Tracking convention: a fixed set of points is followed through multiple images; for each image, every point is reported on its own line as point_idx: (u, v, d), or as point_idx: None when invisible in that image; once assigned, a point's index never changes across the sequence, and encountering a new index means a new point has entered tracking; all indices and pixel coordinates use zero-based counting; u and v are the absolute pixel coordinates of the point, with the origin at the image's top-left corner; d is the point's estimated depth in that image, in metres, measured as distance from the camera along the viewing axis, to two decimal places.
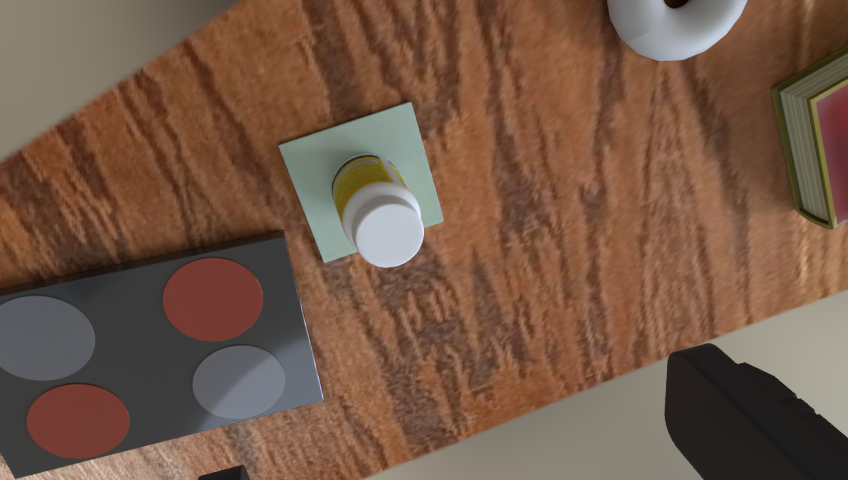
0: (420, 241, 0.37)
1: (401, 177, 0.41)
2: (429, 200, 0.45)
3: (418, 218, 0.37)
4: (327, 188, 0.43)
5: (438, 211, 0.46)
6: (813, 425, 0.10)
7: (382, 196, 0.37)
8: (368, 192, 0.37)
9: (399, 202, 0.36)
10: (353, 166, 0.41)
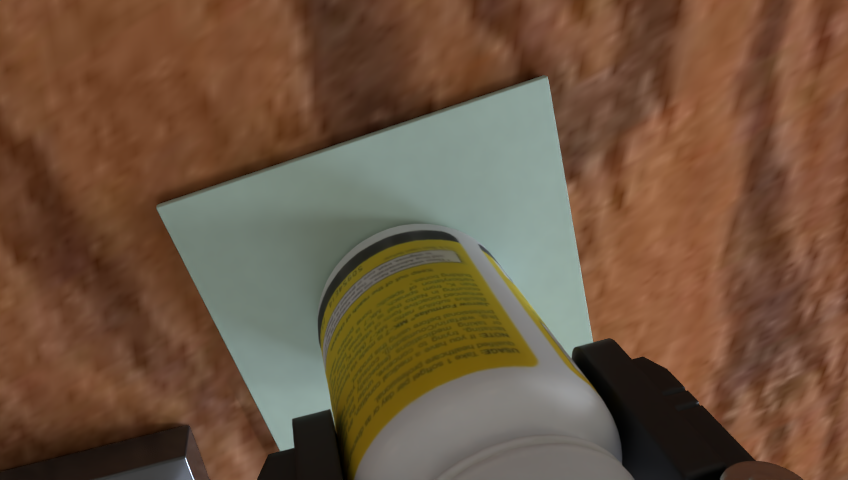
0: None
1: (532, 308, 0.13)
2: (569, 333, 0.18)
3: None
4: (306, 318, 0.16)
5: None
6: (694, 416, 0.11)
7: (515, 445, 0.09)
8: (453, 417, 0.10)
9: None
10: (384, 275, 0.13)
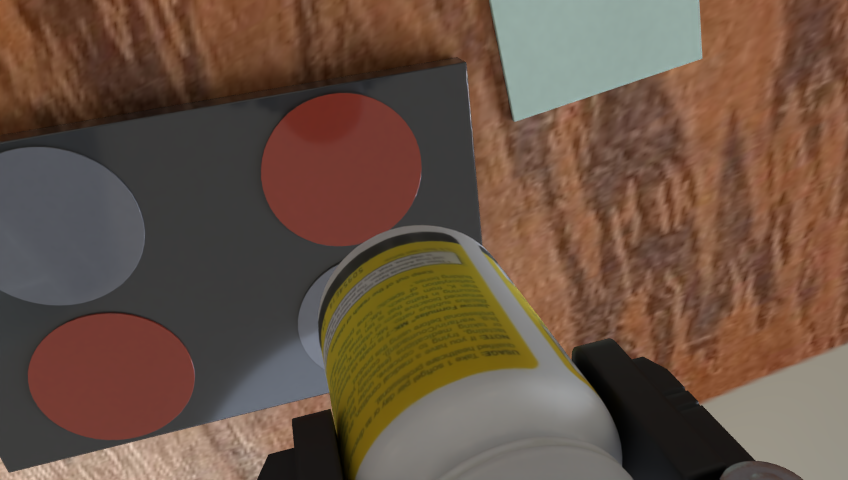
0: None
1: (532, 309, 0.13)
2: (686, 19, 0.28)
3: None
4: None
5: (696, 41, 0.28)
6: (694, 416, 0.11)
7: (515, 447, 0.09)
8: (453, 419, 0.10)
9: None
10: (385, 277, 0.13)
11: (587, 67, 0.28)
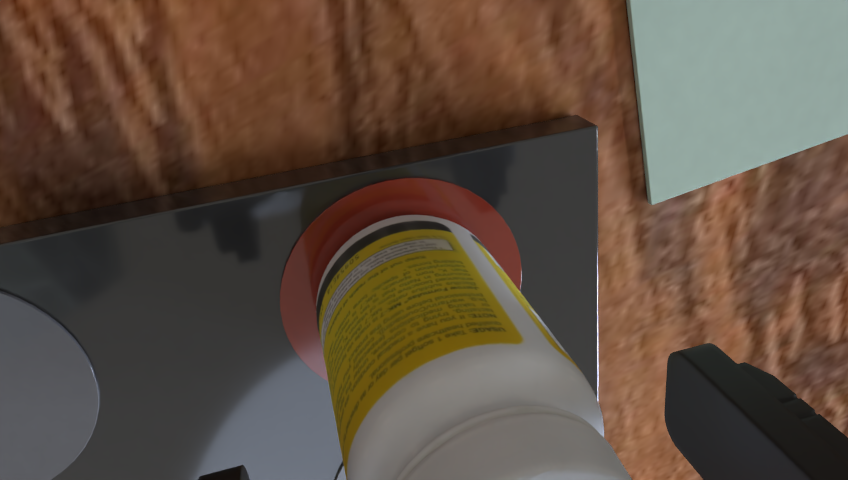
0: None
1: (520, 293, 0.14)
2: None
3: None
4: (702, 2, 0.17)
5: None
6: (813, 425, 0.10)
7: (499, 414, 0.10)
8: (443, 389, 0.10)
9: (577, 455, 0.09)
10: (380, 262, 0.14)
11: (761, 125, 0.19)
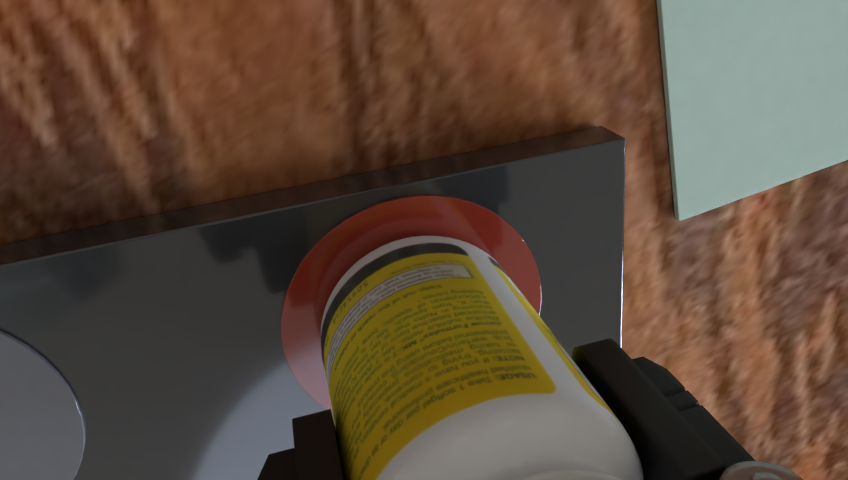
0: None
1: (545, 325, 0.13)
2: None
3: None
4: (739, 5, 0.15)
5: None
6: (693, 416, 0.11)
7: None
8: (466, 449, 0.09)
9: None
10: (391, 291, 0.13)
11: (797, 136, 0.17)
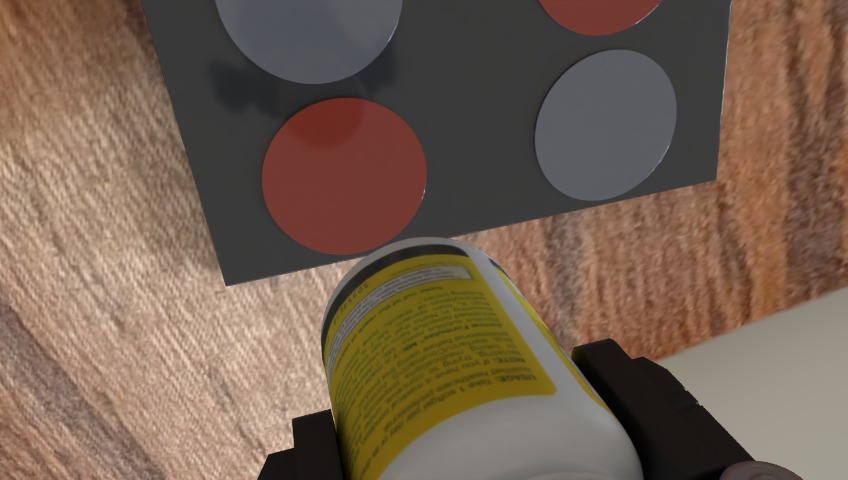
0: None
1: (546, 327, 0.13)
2: None
3: None
4: None
5: None
6: (694, 416, 0.11)
7: None
8: (468, 451, 0.09)
9: None
10: (391, 293, 0.13)
11: None
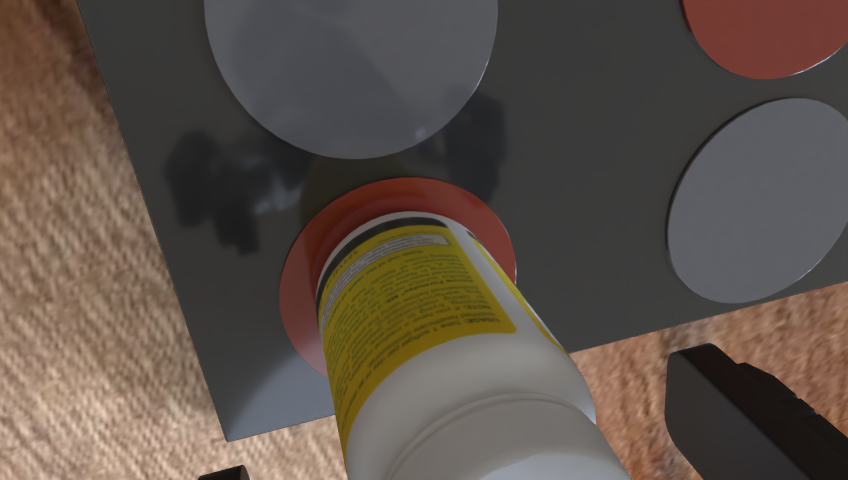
0: None
1: (515, 287, 0.14)
2: None
3: None
4: None
5: None
6: (813, 425, 0.10)
7: (493, 400, 0.10)
8: (438, 377, 0.11)
9: (568, 439, 0.09)
10: (378, 256, 0.14)
11: None
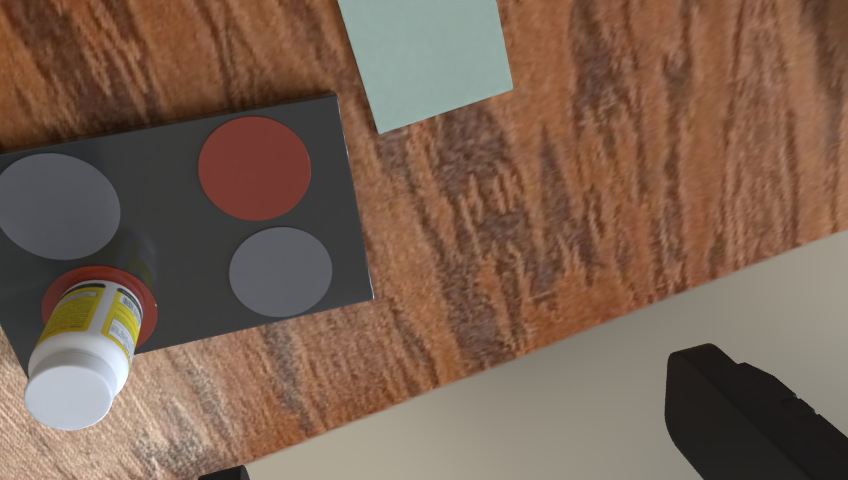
0: (108, 401, 0.33)
1: (119, 313, 0.36)
2: (498, 62, 0.40)
3: (100, 378, 0.32)
4: (385, 41, 0.38)
5: (507, 77, 0.41)
6: (813, 425, 0.10)
7: (61, 352, 0.32)
8: (50, 345, 0.33)
9: (75, 362, 0.32)
10: (65, 301, 0.36)
11: (428, 96, 0.40)
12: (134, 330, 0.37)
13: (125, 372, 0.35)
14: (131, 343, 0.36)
